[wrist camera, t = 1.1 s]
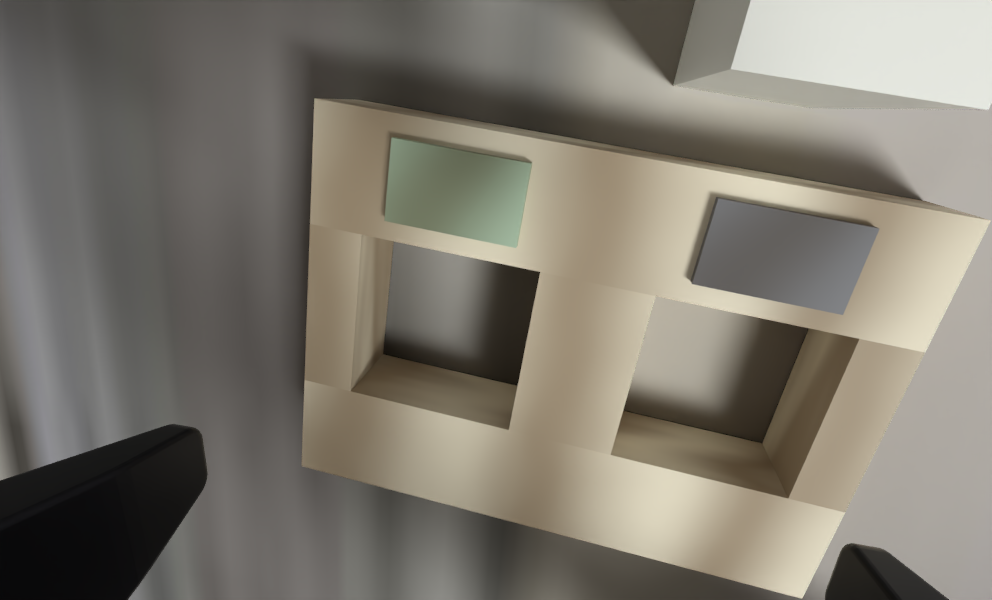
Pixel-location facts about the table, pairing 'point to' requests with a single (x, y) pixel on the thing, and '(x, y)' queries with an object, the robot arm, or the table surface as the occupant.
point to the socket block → (614, 334)
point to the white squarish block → (842, 52)
